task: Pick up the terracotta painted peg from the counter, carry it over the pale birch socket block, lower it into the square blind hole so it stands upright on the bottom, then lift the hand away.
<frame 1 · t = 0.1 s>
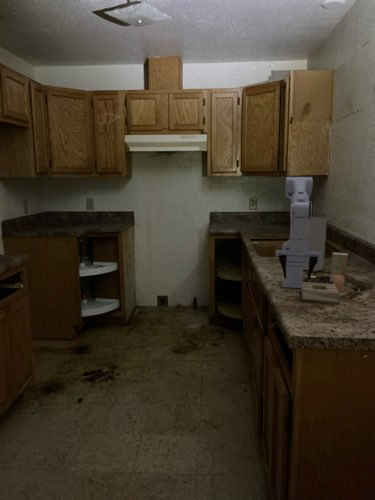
hand: (296, 278, 128), 10 cm above the worktop, tool pointing down, fingers open, 7 cm apart
socket block: (318, 298, 140), on the worktop
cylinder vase: (309, 269, 187), on the worktop
skincare box: (337, 281, 163), on the worktop
peg: (337, 290, 150), on the worktop
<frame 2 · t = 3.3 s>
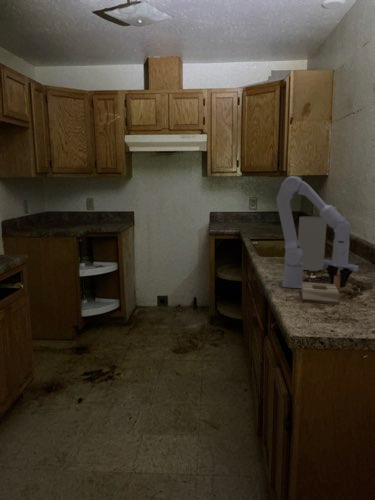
hand: (337, 285, 149), 2 cm above the worktop, tool pointing down, fingers closed on peg, 3 cm apart
peg: (337, 290, 150), on the worktop, touching gripper
everything else where it was.
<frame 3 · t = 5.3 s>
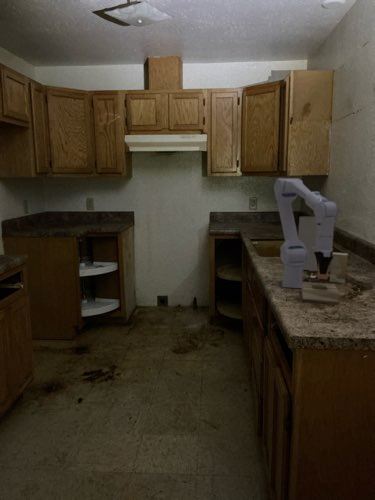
hand: (322, 272, 139), 9 cm above the worktop, tool pointing down, fingers closed on peg, 3 cm apart
peg: (322, 278, 139), point 7 cm above the worktop, touching gripper
everything else where it was.
when the fingers open (5 cm above the worktop, at t = 7.2 s): peg drops 2 cm, resting on socket block.
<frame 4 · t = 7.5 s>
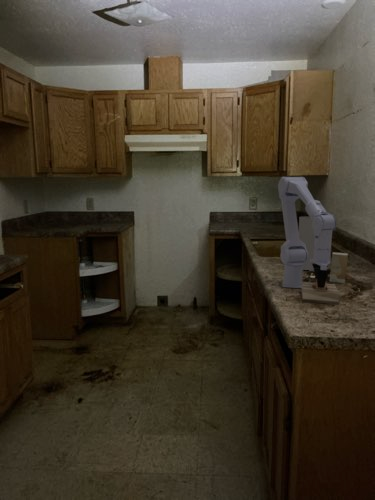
hand: (319, 285, 139), 5 cm above the worktop, tool pointing down, fingers open, 6 cm apart
peg: (319, 295, 140), point 1 cm above the worktop, touching socket block
everything else where it was.
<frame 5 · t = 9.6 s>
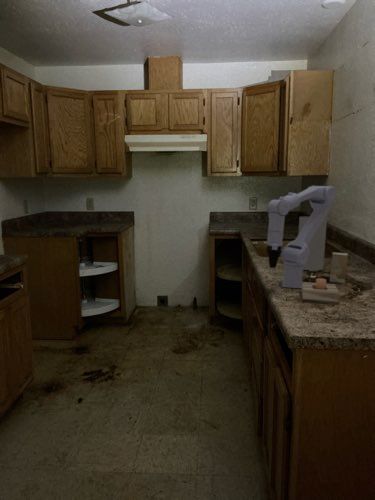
hand: (272, 265, 148), 10 cm above the worktop, tool pointing down, fingers open, 7 cm apart
nothing on the worktop moved.
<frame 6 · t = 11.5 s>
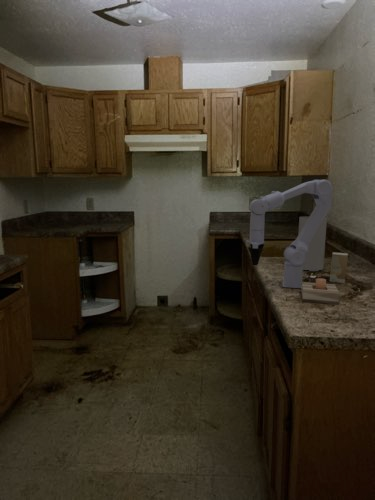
hand: (255, 263, 154), 9 cm above the worktop, tool pointing down, fingers open, 7 cm apart
nothing on the worktop moved.
at the end: peg 0.3 cm off-centre on the socket block, point 1.0 cm above the socket block's base; peg tilted 1°; the gripper is holding nothing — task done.
